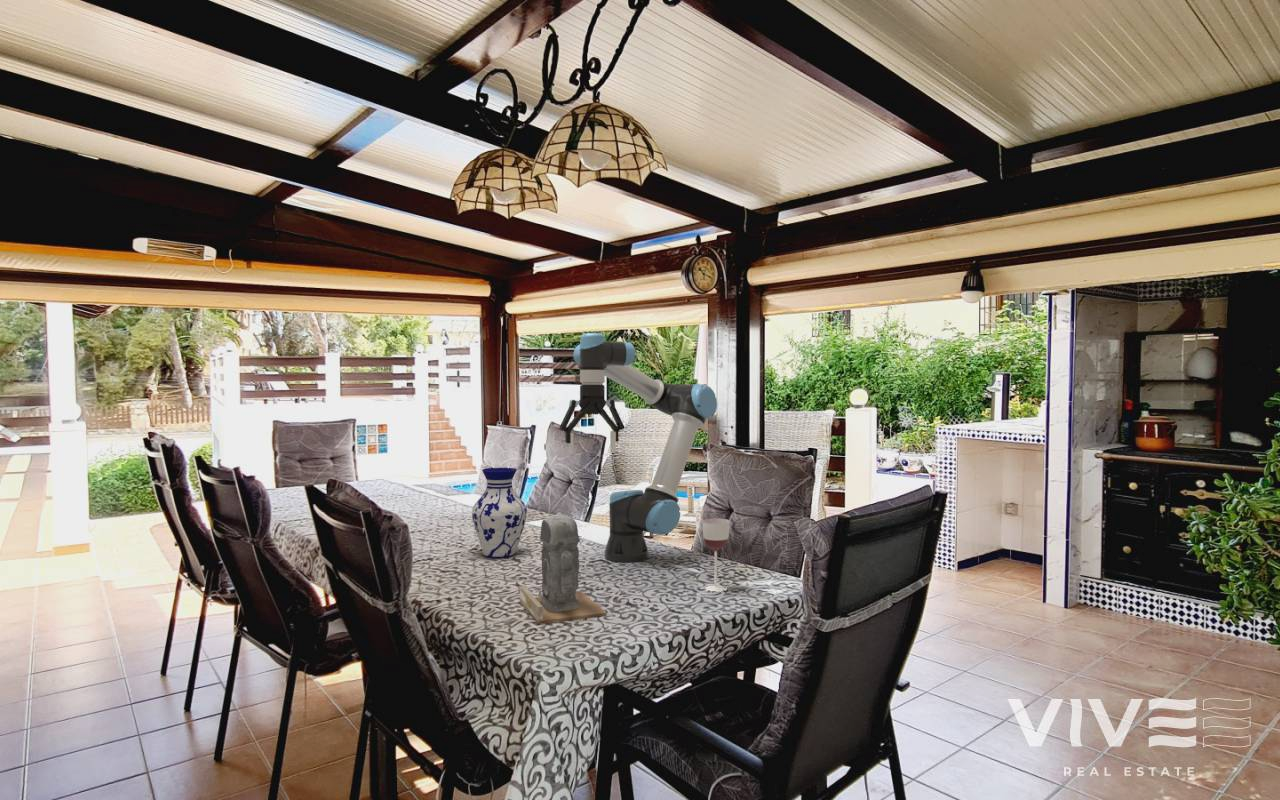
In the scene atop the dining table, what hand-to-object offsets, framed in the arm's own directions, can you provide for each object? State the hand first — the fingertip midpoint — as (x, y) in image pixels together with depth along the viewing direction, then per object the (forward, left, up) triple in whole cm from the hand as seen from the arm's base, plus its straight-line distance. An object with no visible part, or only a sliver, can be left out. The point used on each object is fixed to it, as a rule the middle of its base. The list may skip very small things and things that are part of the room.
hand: (592, 453), depth 221 cm
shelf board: (+17, +25, -39) cm, 49 cm away
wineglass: (-30, +24, -39) cm, 55 cm away
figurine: (+17, +25, -38) cm, 49 cm away
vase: (+20, -42, -39) cm, 61 cm away
